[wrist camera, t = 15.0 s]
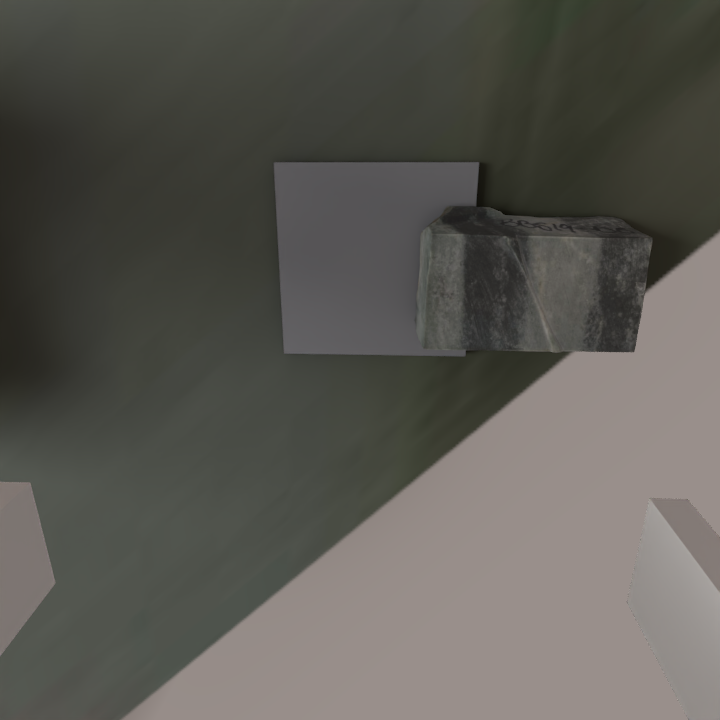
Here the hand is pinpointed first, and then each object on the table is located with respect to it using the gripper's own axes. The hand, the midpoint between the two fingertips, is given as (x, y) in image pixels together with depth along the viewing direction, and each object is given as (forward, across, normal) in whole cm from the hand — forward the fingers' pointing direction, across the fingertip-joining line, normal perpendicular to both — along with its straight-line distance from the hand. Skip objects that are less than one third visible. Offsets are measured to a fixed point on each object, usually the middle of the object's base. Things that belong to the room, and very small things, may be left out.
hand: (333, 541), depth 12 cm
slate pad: (+31, 0, 0) cm, 31 cm away
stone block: (+30, +3, 0) cm, 30 cm away
